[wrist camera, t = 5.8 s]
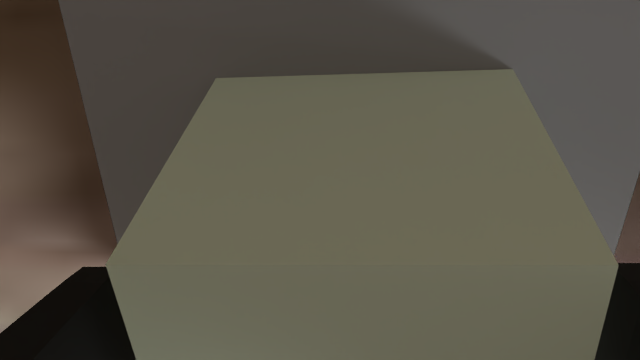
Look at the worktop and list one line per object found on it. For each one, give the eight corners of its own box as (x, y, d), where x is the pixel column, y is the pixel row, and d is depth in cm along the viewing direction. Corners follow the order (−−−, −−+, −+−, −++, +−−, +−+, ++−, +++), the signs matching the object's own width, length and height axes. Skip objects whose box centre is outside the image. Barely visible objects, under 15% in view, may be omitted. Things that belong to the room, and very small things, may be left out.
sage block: (512, 68, 10) (618, 264, 6) (487, 296, 12) (546, 547, 8) (215, 77, 10) (105, 264, 6) (251, 294, 13) (191, 531, 9)
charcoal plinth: (615, -99, 12) (712, -64, 9) (531, 281, 17) (570, 396, 14) (131, -96, 13) (42, -62, 9) (191, 267, 18) (149, 374, 15)
